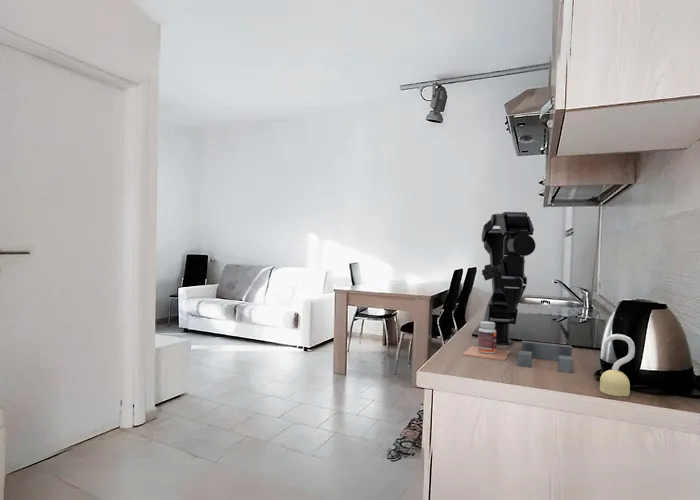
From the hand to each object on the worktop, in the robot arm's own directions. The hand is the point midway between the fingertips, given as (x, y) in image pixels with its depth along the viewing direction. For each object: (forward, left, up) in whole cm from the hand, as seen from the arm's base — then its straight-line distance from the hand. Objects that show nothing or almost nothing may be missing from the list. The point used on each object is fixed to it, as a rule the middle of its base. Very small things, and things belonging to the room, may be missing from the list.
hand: (512, 310), depth 122 cm
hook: (+26, +23, -12) cm, 37 cm away
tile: (+5, -6, -12) cm, 14 cm away
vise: (+5, +9, -12) cm, 16 cm away
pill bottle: (+5, -6, -12) cm, 14 cm away
